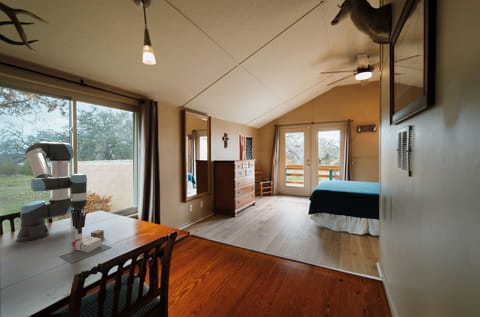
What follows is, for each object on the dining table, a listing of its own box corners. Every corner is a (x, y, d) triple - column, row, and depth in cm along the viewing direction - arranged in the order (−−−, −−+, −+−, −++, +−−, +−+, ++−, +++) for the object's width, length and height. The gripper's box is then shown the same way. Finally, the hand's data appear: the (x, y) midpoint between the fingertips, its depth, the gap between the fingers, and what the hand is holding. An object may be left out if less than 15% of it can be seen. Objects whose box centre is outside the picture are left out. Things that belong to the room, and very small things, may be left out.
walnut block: (90, 239, 131) (90, 232, 131) (97, 236, 136) (97, 229, 136) (97, 240, 130) (97, 233, 130) (103, 237, 135) (103, 230, 135)
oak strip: (61, 255, 111) (61, 254, 111) (96, 243, 127) (96, 242, 127) (62, 256, 110) (62, 255, 110) (97, 243, 126) (97, 242, 126)
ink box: (71, 249, 116) (87, 253, 114) (71, 241, 116) (88, 245, 113) (86, 242, 125) (101, 246, 122) (86, 235, 124) (101, 238, 122)
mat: (59, 256, 110) (59, 256, 110) (98, 242, 128) (98, 242, 128) (71, 263, 103) (71, 262, 103) (111, 247, 121) (111, 247, 121)
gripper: (65, 199, 118) (65, 238, 119) (77, 202, 112) (77, 243, 113) (80, 197, 125) (79, 234, 126) (91, 199, 119) (91, 238, 120)
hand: (78, 238), depth 119 cm, fingers closed
